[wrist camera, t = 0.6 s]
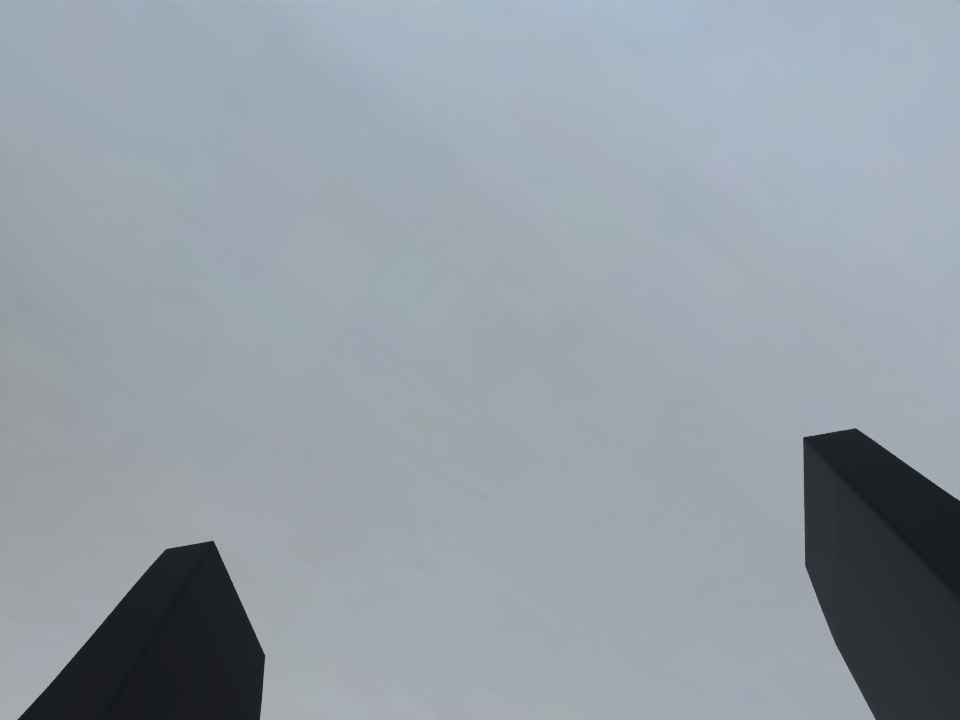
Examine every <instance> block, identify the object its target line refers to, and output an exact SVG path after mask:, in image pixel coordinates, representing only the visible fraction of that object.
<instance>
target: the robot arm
mask: <svg viewBox="0 0 960 720" xmlns="http://www.w3.org/2000/svg"><path fill="white" fill-rule="evenodd" d="M803 444H804V508H805V566H806V569H807V571H808V574H809V577H810V579H811V582H812V585H813V587H814V590H815V593H816V595H817V598H818V601H819V603H820V606H821V609H822V611H823V614H824V616H825V619H826V621H827V623H828V626H829V628H830V631H831V633H832V636H833V638H834V641H835V643H836V645H837V647H838V649H839V651H840V653H841V655H842V657H843V659H844V661H845V662H846V664H847V666H848V668H849V670H850V672H851V674H852V676H853V678H854V679H855V681H856V683H857V685H858V687H859V689H860V691H861V693H862V694H863V696H864V698H865V700H866V702H867V704H868V706H869V708H870V709H871V711H872V713H873V715H874V717H875V719H876V720H960V501H959V500H957V499H956V498H954V497H953V496H951V495H950V494H949V493H947V492H946V491H944V490H943V489H941V488H940V487H938V486H937V485H936V484H934V483H933V482H931V481H930V480H928V479H927V478H926V477H924V476H923V475H921V474H920V473H918V472H917V471H916V470H914V469H913V468H911V467H910V466H909V465H907V464H906V463H904V462H903V461H902V460H900V459H899V458H897V457H896V456H895V455H893V454H892V453H890V452H889V451H887V450H886V449H885V448H883V447H882V446H880V445H879V444H878V443H876V442H875V441H873V440H872V439H871V438H869V437H868V436H866V435H865V434H863V433H862V432H860V431H859V430H858V429H856V428H855V429H849V430H843V431H838V432H832V433H826V434H821V435H815V436H809V437H803ZM264 663H265V655H264V652H263V650H262V648H261V646H260V643H259V641H258V639H257V637H256V634H255V632H254V630H253V628H252V626H251V623H250V621H249V619H248V617H247V614H246V612H245V610H244V608H243V605H242V603H241V601H240V599H239V597H238V594H237V592H236V590H235V588H234V585H233V583H232V581H231V579H230V576H229V574H228V572H227V570H226V568H225V565H224V563H223V561H222V559H221V556H220V554H219V552H218V550H217V547H216V545H215V543H214V541H210V542H204V543H199V544H193V545H187V546H182V547H176V548H170V549H166V550H165V551H164V552H163V553H162V554H161V555H160V556H159V558H158V559H157V560H156V561H155V562H154V563H153V564H152V565H151V566H150V568H149V569H148V570H147V571H146V572H145V573H144V574H143V576H142V577H141V578H140V579H139V580H138V581H137V583H136V584H135V585H134V586H133V587H132V589H131V590H130V591H129V592H128V593H127V595H126V596H125V597H124V598H123V599H122V601H121V602H120V603H119V604H118V605H117V606H116V608H115V609H114V610H113V611H112V612H111V614H110V615H109V616H108V617H107V618H106V620H105V621H104V622H103V623H102V624H101V626H100V627H99V628H98V629H97V630H96V631H95V633H94V634H93V635H92V636H91V637H90V638H89V640H88V641H87V642H86V643H85V644H84V645H83V647H82V648H81V649H80V650H79V651H78V652H77V654H76V655H75V656H74V657H73V658H72V659H71V661H70V662H69V663H68V664H67V665H66V666H65V668H64V669H63V670H62V671H61V672H60V673H59V675H58V676H57V677H56V678H55V679H54V680H53V682H52V683H51V684H50V685H49V686H48V687H47V688H46V690H45V691H44V692H43V693H42V694H41V695H40V696H39V697H38V698H37V699H36V700H35V701H34V703H33V704H32V705H31V706H30V707H29V708H28V709H27V710H26V711H25V712H24V713H23V714H22V715H21V717H20V718H19V719H18V720H260V712H261V702H262V690H263V676H264Z"/></svg>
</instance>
